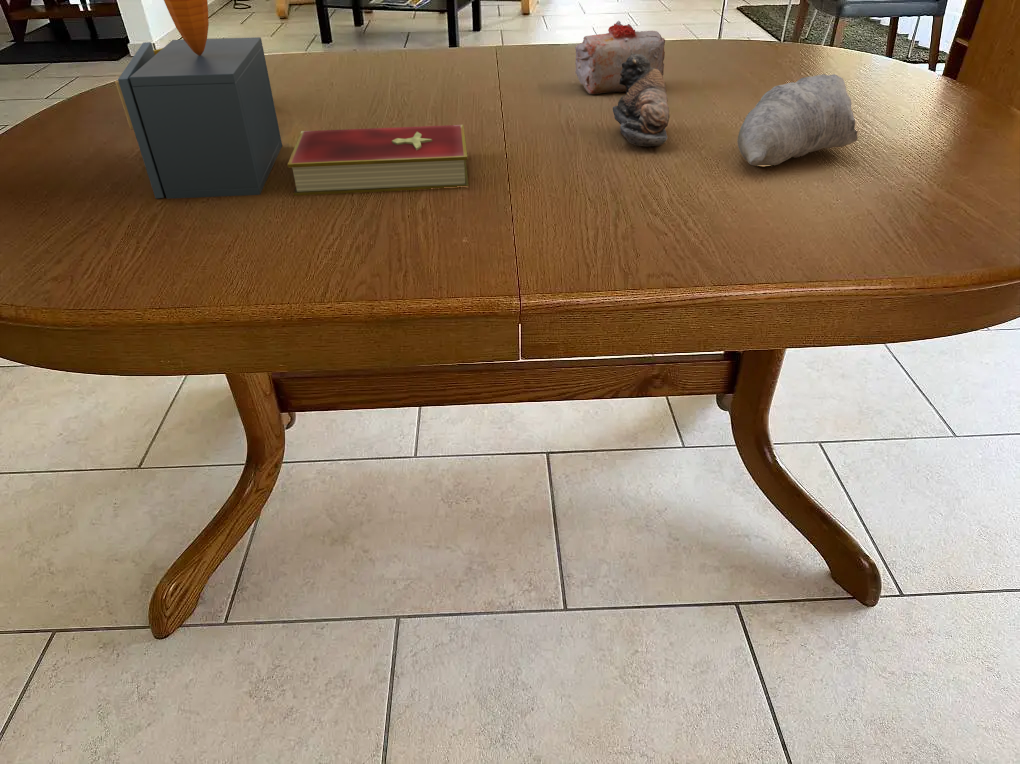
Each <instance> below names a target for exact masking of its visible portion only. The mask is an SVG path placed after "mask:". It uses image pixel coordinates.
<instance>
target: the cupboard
mask: <svg viewBox="0 0 1020 764" xmlns="http://www.w3.org/2000/svg"><path fill="white" fill-rule="evenodd" d="M262 41H263V40H262V37H259V36H257V37H226V38H225V37H221V38H207V41H206V45H205V49H204V52H203V53H202V55H201V56H198V55H197V54H196V53H194V52H193V51H192V49H191V48H190V47H189V46H188V44H187V43H186V42H185V41H184V39H172V40H171V41H170V42H169V43H166V45H165V46H164V47H162V48H163V49H162V50H160V51H159V52H158V53H157V54H156V55H155V56H154V57H152V58H151V59H150V60H149V61H148V62H147V63H145V64H144V65H143V66H142V67H141V68H140V69H139V70H137V71H136V72H135V73H134V74H133V75H132V76H130V81H131V84H132V86H133V87H132V88H133V91H134V94H135V98H136V101H137V104H138V107H139V111H140V114H141V117H142V120H143V124H144V127H145V130H146V133H147V137H148V140H149V143H150V146H151V150H152V153H153V156H154V159H155V163H156V166H157V169H158V172H159V176H160V179H161V182H162V185H163V189H164V191H165V197H166V199H167V200H169V199H192V198H193V199H194V198H218V197H241V196H260V195H261V194H262V192H263V189H264V187H265V185H266V183H267V181H268V178H269V177H270V174H271V172H272V169H273V167H274V165H275V163H276V161H277V159H278V156H279V154H280V152H281V150H282V147H283V143H282V142H283V141H282V135H281V132H280V126H279V122H278V117H277V111H276V106H275V101H274V97H273V96H274V95H273V92H272V86H271V81H270V76H269V72H268V71H269V70H268V66H267V61H266V55H265V50H264V46H263V42H262Z"/></svg>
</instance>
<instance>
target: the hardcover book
mask: <svg viewBox="0 0 1020 764" xmlns="http://www.w3.org/2000/svg"><path fill="white" fill-rule="evenodd" d="M467 161H468V152H467V143H466V135H465V127H464V124H448V125H447V124H446V125H445V124H444V125H425V126H423V125H422V126H421V125H419V126H398V127H373V128H370V127H369V128H348V129H345V128H344V129H323V130H301V131H300V132H299V135H298V137H297V140H296V142H295V145H294V147H293V150H292V152H291V155H290V157H289V160H288V162H287V169H288V168H290V169H292V173H293V178H294V183H295V188H294V189H293V193H292V195H293V196H314V195H315V196H316V195H337V194H338V195H339V194H359V193H363V194H364V193H382V192H383V191H385V192H386V191H387V192H401V191H400V190H410V191H419V190H418V189H431V188H444V187H457V186H469V185H470V184H469V178H468V177H469V176H468V169H467ZM383 193H384V192H383Z"/></svg>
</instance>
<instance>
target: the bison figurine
mask: <svg viewBox="0 0 1020 764" xmlns="http://www.w3.org/2000/svg"><path fill="white" fill-rule="evenodd" d="M620 75H621V76H622V77H621V78H620V82H619V84H620V85H624V86H626V91H625V94H624V95H622V96H621V97H620V98H619V100H618V102H617V105H615V106H612V113H613V116H614V117H613V118H614V120H615V121H616V122H618V124H619V125H620V126H619V129H620V134H621V135H623V137H625V138H626V141H627V142H628V143H630V144H631V145H634V146H635V145H636V146H640V147H646V148H652V147H660V146H662V145H664V144H665V143H666V142H667V140H668V135H667V133H668V132H667V130H666V128H667V127H668V126H669V120H670V107H669V105H668V104H669V103H668V102H669V99H668V94H667V87H666V81H665V79H664V75H663V76H662V75H661V73H660V71H659V70H658V69H654V68H651V65H650V62H649V60H648V59H647V58H646V57H645V56H644V55H642V54H633V53H632V52H631V55H630V56H629V57H628V58H627V61H626V62H623V63H622V70H621V72H620ZM651 146H652V147H651Z"/></svg>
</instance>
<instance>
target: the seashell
mask: <svg viewBox="0 0 1020 764" xmlns="http://www.w3.org/2000/svg"><path fill="white" fill-rule="evenodd" d="M855 127H856V119H855V117H854V111H853V110H852V98H851V97H850V95H849V94H848V91H847V86H846V83H845V80H844V78H843V77H841V76H840V75H838V74H835V73H833V74H825V73H823V74H817V75H813V76H810V75H809V76H806V77H805V76H804V77H800V78H799V79H798V80H796V82H787V83H784V84H779V85H775V86H773V87H771V89H769V90H768V91H766V92H765V93H764V94H763V95H762V96H761V98H760V100H758V102H757V103H756V104H755V107H754V108H752V109H751V110H750V111H749V112H748V113H747V114H746V115H745V118H744V120H743V123H742V124H741V125H740V128H739V132H738V134H737V135H738V136H737V148H738V150H739V152H740V155H741V156H742V158H743V159H744V160H745V161H746V162H747V163H748V164H749V165H750V166H755V167H757V166H756V165H774V166H779V165H781V164H782V163H784V162H785V161H788V160H789V159H792V158H791V157H796V158H801V157H803V156H806V155H807V154H810V153H813V152H817V151H820V150H823V149H833V148H843V147H845V146H848V145H851V144H853V143H856V142H857V141H858V139H859V138H858V132H859V131H858V130H856V128H855ZM808 152H810V153H808ZM800 156H801V157H800Z"/></svg>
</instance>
